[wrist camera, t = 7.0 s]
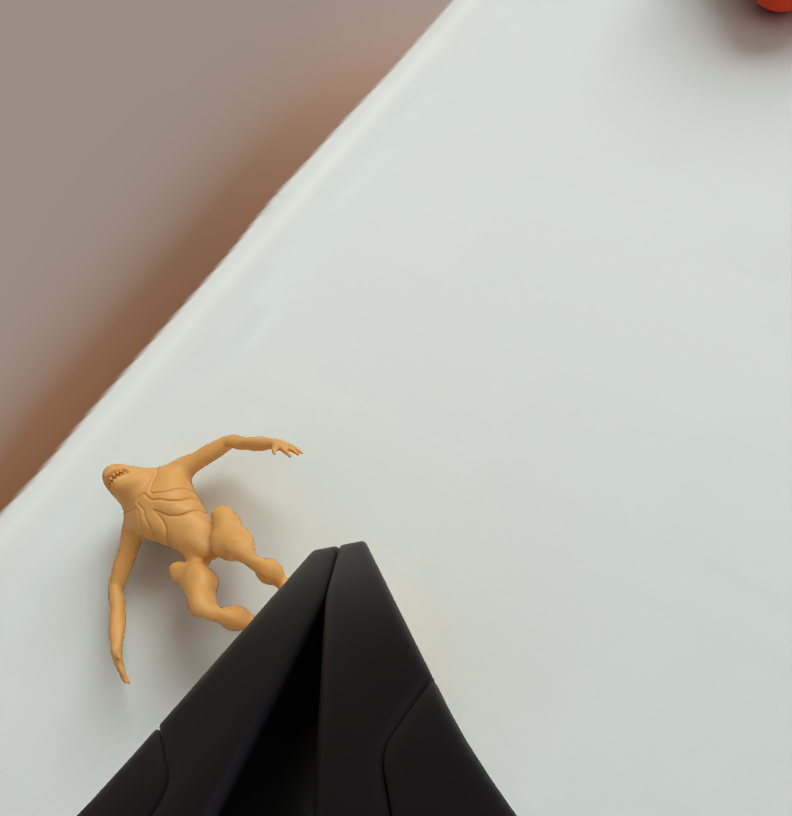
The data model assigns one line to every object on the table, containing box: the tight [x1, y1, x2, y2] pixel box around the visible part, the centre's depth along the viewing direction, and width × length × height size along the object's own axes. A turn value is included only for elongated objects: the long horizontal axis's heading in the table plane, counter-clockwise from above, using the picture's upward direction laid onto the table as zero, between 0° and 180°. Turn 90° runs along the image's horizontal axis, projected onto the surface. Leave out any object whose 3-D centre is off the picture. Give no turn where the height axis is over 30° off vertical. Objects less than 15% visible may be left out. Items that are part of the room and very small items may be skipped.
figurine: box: [102, 435, 303, 684], centre depth 15 cm, size 8×6×12 cm
